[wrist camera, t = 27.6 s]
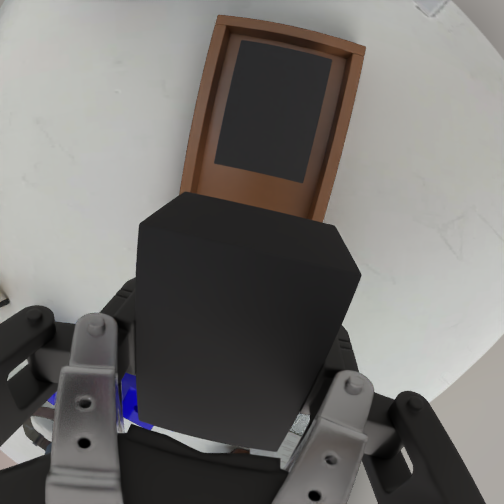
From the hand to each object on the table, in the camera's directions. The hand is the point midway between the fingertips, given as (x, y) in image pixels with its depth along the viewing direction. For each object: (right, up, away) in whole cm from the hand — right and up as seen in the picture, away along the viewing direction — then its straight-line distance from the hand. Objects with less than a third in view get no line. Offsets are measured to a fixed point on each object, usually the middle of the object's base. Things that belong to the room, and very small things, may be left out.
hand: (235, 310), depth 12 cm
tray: (+1, +9, +11) cm, 14 cm away
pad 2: (0, 0, 0) cm, 0 cm away
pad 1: (+2, +12, +9) cm, 15 cm away
